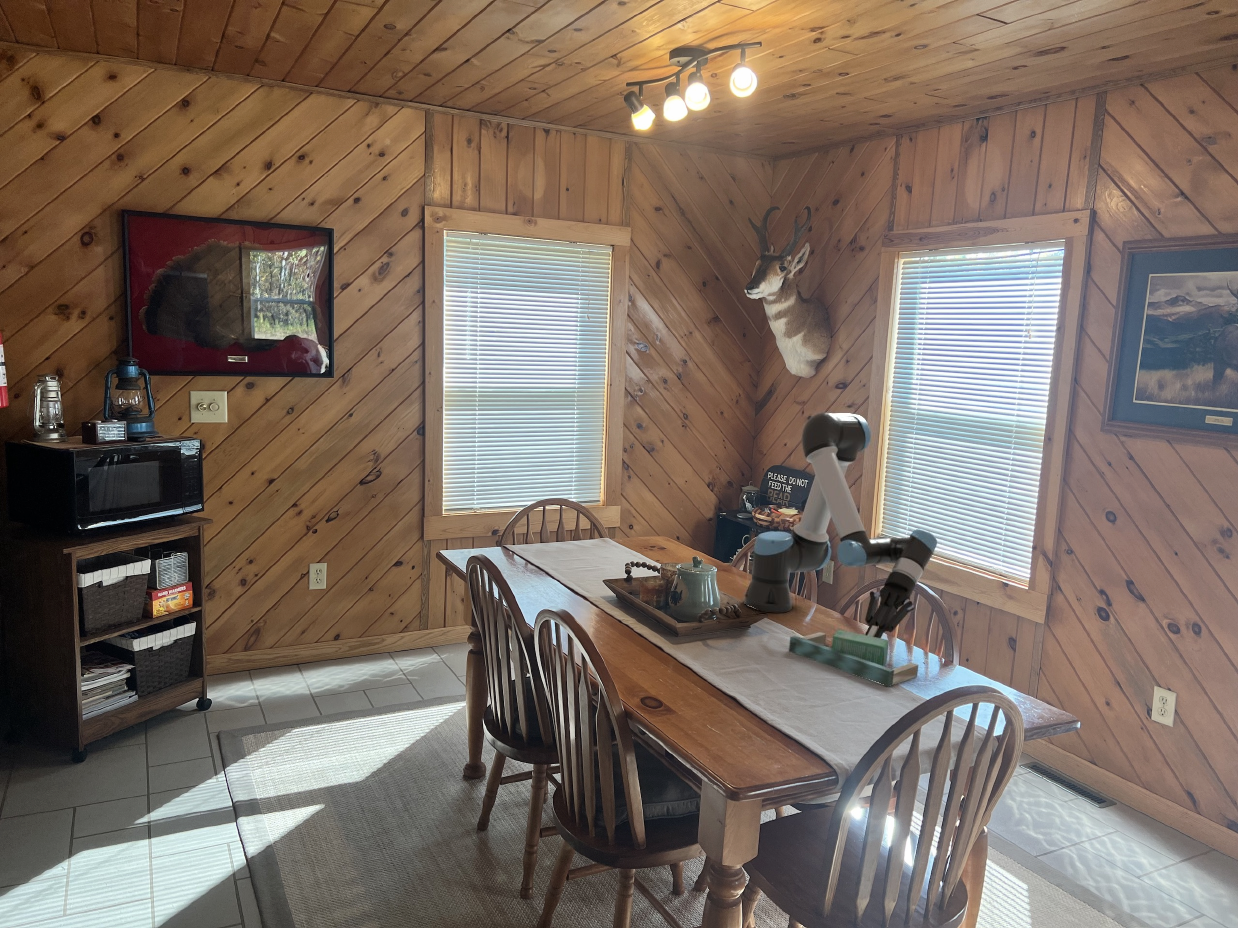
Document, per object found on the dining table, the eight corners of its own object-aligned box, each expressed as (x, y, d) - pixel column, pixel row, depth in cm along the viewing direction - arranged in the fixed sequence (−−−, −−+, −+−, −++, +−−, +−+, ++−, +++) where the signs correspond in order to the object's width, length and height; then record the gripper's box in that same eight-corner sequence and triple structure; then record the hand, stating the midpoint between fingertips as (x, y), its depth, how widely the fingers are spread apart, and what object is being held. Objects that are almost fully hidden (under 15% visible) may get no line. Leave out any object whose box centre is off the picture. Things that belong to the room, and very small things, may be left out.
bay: (788, 650, 237) (790, 636, 237) (819, 642, 247) (820, 628, 246) (888, 687, 215) (889, 671, 215) (917, 676, 225) (919, 661, 224)
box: (882, 673, 224) (885, 645, 224) (829, 663, 230) (832, 635, 229) (886, 665, 231) (889, 638, 230) (834, 655, 237) (837, 628, 236)
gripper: (929, 591, 240) (892, 663, 231) (886, 581, 250) (849, 649, 240) (921, 575, 236) (883, 647, 227) (878, 565, 245) (840, 634, 236)
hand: (866, 648), depth 234 cm, fingers closed
